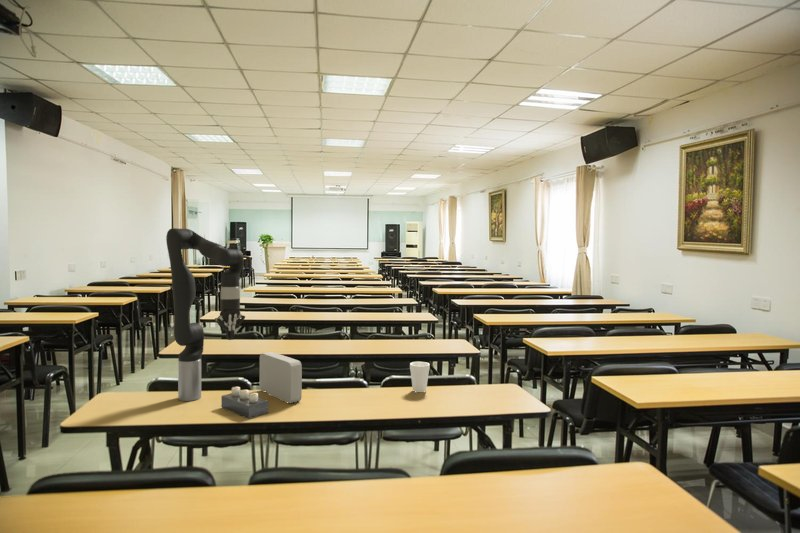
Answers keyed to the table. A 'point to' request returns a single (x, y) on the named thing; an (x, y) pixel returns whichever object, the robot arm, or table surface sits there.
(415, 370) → the foam cup
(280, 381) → the rounded white slab
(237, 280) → the robot arm
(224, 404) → the mount
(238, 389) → the knob
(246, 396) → the knob
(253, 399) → the knob
